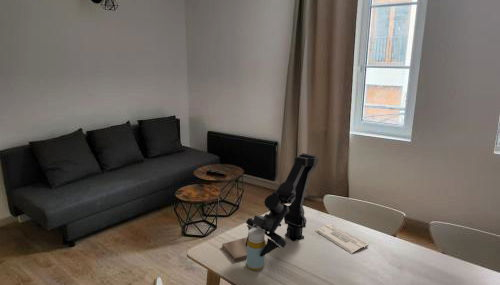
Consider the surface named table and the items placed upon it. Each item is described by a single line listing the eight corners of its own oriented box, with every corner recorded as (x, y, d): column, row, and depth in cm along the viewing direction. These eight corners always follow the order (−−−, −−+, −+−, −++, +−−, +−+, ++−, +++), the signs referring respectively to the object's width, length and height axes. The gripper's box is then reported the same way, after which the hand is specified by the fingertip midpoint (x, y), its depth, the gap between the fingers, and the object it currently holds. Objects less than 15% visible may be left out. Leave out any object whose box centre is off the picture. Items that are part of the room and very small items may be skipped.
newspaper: (370, 247, 152) (370, 242, 151) (351, 258, 146) (351, 253, 145) (332, 225, 170) (332, 220, 169) (313, 233, 164) (313, 229, 163)
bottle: (262, 272, 132) (264, 237, 128) (244, 269, 133) (245, 235, 129) (265, 261, 138) (267, 228, 134) (248, 259, 139) (249, 226, 136)
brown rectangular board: (258, 237, 156) (258, 234, 156) (272, 250, 146) (272, 247, 146) (222, 246, 148) (222, 243, 147) (234, 261, 138) (234, 258, 137)
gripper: (249, 199, 139) (227, 232, 135) (282, 217, 125) (258, 254, 121) (263, 211, 146) (242, 243, 142) (296, 230, 132) (273, 265, 128)
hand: (253, 251), depth 133 cm, fingers open, 8 cm apart
